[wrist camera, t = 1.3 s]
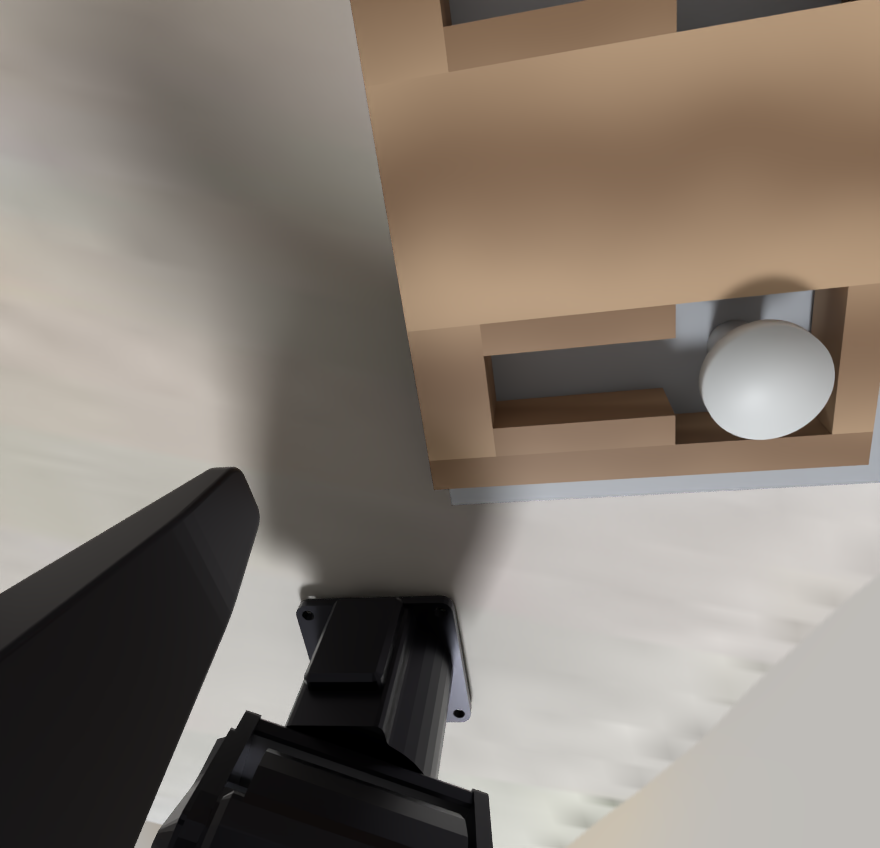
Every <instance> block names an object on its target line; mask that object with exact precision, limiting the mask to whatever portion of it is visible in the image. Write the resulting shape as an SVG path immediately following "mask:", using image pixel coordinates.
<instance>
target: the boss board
mask: <svg viewBox="0 0 880 848" xmlns="http://www.w3.org/2000/svg"><path fill="white" fill-rule="evenodd" d="M579 1H585V0H449V5H450V13H451V22H452V25H457V24H462V23H468V22H473V21H478V20H484V19H489V18H494V17H499V16H505V15H510V14H515V13H521V12H526V11H531V10H537V9H542V8H547V7H553V6H558V5H563V4H569V3H574V2H579ZM841 1H842V0H677V32H681V31H687V30H693V29H698V28H704V27H710V26H715V25H721V24H727V23H733V22H738V21H744V20H750V19H755V18H761V17H767V16H773V15H778V14H784V13H790V12H795V11H801V10H807V9H812V8H818V7H824V6H830V5H835V4H841ZM814 295H815V290H808V291H798V292H789V293H779V294H769V295H760V296H750V297H740V298H731V299H721V300H711V301H702V302H692V303H682V304H676V338H672V339H661V340H651V341H640V342H629V343H619V344H608V345H598V346H587V347H576V348H566V349H555V350H544V351H534V352H523V353H513V354H502V355H491V359H492V368H493V376H494V384H495V393H496V401H505V400H518V399H530V398H542V397H554V396H567V395H579V394H591V393H604V392H616V391H628V390H641V389H653V388H663V389H664V392H665V394H666V396H667V398H668V400H669V403H670V405H671V407H672V409H673V411H674V413H675V414H682V413H696V412H709V413H710V415H711V417H712V418H713V419H714V421H715V422H716V423H717V424H718V425H719V426H720V427H722V428H723V429H724V430H726V431H727V432H729V433H731V434H733V435H736V436H739V437H742V438H746V439H754V440H766V439H774V438H778V437H782V436H785V435H788V434H790V433H793V432H795V431H797V430H799V429H800V428H802V427H804V426H805V425H806V424H808V423H809V422H810V421H812V420H813V419H814V418H815V417H816V416H817V415H818V414H819V413H820V411H821V410H822V409H823V408H824V406H825V405H826V403H827V401H828V399H829V397H830V395H831V393H832V390H833V386H834V380H835V370H834V364H833V360H832V357H831V355H830V353H829V351H828V350H827V349H826V347H825V346H824V345H823V344H822V343H821V342H820V341H819V340H818V339H817V338H816V337H815V336H813V335H812V334H811V328H812V317H813V306H814ZM862 483H880V387H879V395H878V402H877V409H876V416H875V423H874V430H873V437H872V444H871V451H870V458H869V465H857V466H839V467H822V468H805V469H787V470H770V471H753V472H735V473H718V474H701V475H683V476H666V477H649V478H631V479H614V480H597V481H579V482H562V483H545V484H527V485H510V486H492V487H475V488H458V489H449V491H450V497H451V503H452V505H466V504H485V503H503V502H522V501H541V500H560V499H579V498H598V497H617V496H635V495H654V494H673V493H692V492H711V491H730V490H749V489H767V488H786V487H805V486H824V485H843V484H862Z"/></svg>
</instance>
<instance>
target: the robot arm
mask: <svg viewBox="0 0 880 848" xmlns="http://www.w3.org/2000/svg"><path fill="white" fill-rule="evenodd" d="M259 520H260V516H259V509H258V506H257V504H256V502H255V499H254V497H253V495H252V492H251V490H250V488H249V485H248V483H247V481H246V478H245V476H244V474H243V472H242V471H241V470H240V469H238V468H236V467H217V468H211V469H209V470H207V471H205V472H203V473H202V474H200V475H198V476H197V477H195V478H193V479H192V480H190V481H188V482H187V483H185V484H183V485H182V486H180V487H178V488H177V489H175V490H173V491H172V492H170V493H168V494H166V495H165V496H163V497H161V498H160V499H158V500H156V501H155V502H153V503H151V504H150V505H148V506H146V507H145V508H143V509H141V510H140V511H138V512H136V513H135V514H133V515H131V516H130V517H128V518H126V519H125V520H123V521H121V522H120V523H118V524H116V525H115V526H113V527H111V528H110V529H108V530H106V531H104V532H103V533H101V534H99V535H98V536H96V537H94V538H93V539H91V540H89V541H88V542H86V543H84V544H83V545H81V546H79V547H78V548H76V549H74V550H73V551H71V552H69V553H68V554H66V555H64V556H63V557H61V558H59V559H58V560H56V561H54V562H53V563H51V564H49V565H47V566H46V567H44V568H42V569H41V570H39V571H37V572H36V573H34V574H32V575H31V576H29V577H27V578H26V579H24V580H22V581H21V582H19V583H17V584H16V585H14V586H12V587H11V588H9V589H7V590H6V591H4V592H2V593H1V594H0V848H134V846H135V844H136V842H137V839H138V837H139V834H140V832H141V829H142V827H143V825H144V823H145V820H146V818H147V815H148V813H149V811H150V808H151V806H152V803H153V801H154V799H155V796H156V794H157V792H158V789H159V787H160V784H161V782H162V780H163V777H164V775H165V773H166V770H167V768H168V765H169V763H170V761H171V758H172V756H173V753H174V751H175V749H176V746H177V744H178V742H179V739H180V737H181V734H182V732H183V730H184V727H185V725H186V723H187V720H188V718H189V715H190V713H191V711H192V708H193V706H194V703H195V701H196V699H197V696H198V694H199V692H200V689H201V687H202V684H203V682H204V680H205V677H206V675H207V673H208V670H209V668H210V665H211V663H212V661H213V658H214V656H215V653H216V651H217V649H218V646H219V644H220V642H221V639H222V637H223V634H224V632H225V630H226V627H227V625H228V622H229V619H230V617H231V614H232V611H233V608H234V605H235V602H236V599H237V596H238V593H239V589H240V586H241V583H242V580H243V576H244V573H245V570H246V566H247V563H248V560H249V556H250V553H251V550H252V546H253V543H254V540H255V536H256V533H257V530H258V526H259ZM439 607H440V608H444V609H445V610H444V611H441V610H438V609H437V608H439ZM307 611H310V612H312V613H313V614H310V613H308V612H307ZM296 615H297V619H298V623H299V626H300V629H301V633H302V636H303V639H304V643H305V646H306V649H307V653H308V656H309V659H310V663H309V666H308V668H307V670H306V673H305V675H304V681H303V683H302V686H301V688H300V691H299V693H298V696H297V698H296V701H295V703H294V705H293V708H292V710H291V713H290V715H289V718H288V720H287V722H286V725H285V727H284V726H282V725H279V724H276V723H273V722H270V721H267V720H264V719H261V715H259V714H256V713H253V712H250V711H247V710H246V712H245V714H244V715H243V717H242V719H241V721H240V722H239V724H238V726H237V728H236V729H233V728H231V729H230V731H229V732H228V734H227V736H226V737H224V738H220V739H217V741H216V743H215V745H214V747H213V749H212V751H211V753H210V755H209V757H208V759H207V761H206V763H205V765H204V766H203V768H202V770H201V772H200V774H199V776H198V778H197V779H196V781H195V783H194V784H193V786H192V787H191V789H190V790H189V791H188V792H187V794H186V795H185V796H184V798H183V799H182V800H181V802H180V803H179V804H178V806H177V807H176V808H175V809H174V811H173V812H172V813H171V815H170V816H169V817H168V819H167V820H166V821H165V822H164V824H163V825H162V826H161V828H160V829H159V831H158V833H157V835H156V837H155V839H154V841H153V844H152V846H151V848H493V843H492V832H491V820H490V808H489V796H488V794H487V793H484V792H481V791H479V790H476V789H472V790H471V791H469V790H467V789H464V788H461V787H458V786H455V785H452V784H449V783H446V782H443V781H441V780H438V773H439V766H440V759H441V753H442V746H443V739H444V733H445V726H446V722H465V721H467V720H468V719H469V718H470V715H471V700H470V695H469V689H468V683H467V677H466V671H465V665H464V660H463V654H462V648H461V642H460V636H459V630H458V625H457V619H456V613H455V607H454V604H453V602H452V601H451V600H450V599H449V598H447V597H445V596H413V597H377V598H341V599H308V600H304V601H302V602H301V604H300V606H299V608H298V610H297V612H296ZM457 709H459V710H457Z"/></svg>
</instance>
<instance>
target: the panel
mask: <svg viewBox="0 0 880 848" xmlns="http://www.w3.org/2000/svg"><path fill="white" fill-rule="evenodd" d="M350 3H351V9H352V15H353V20H354V26H355V32H356V38H357V44H358V50H359V55H360V61H361V67H362V73H363V79H364V85H365V90H366V96H367V102H368V108H369V114H370V120H371V125H372V131H373V137H374V143H375V149H376V155H377V160H378V166H379V172H380V178H381V184H382V190H383V195H384V201H385V207H386V213H387V219H388V224H389V230H390V236H391V242H392V248H393V254H394V259H395V265H396V271H397V277H398V283H399V289H400V294H401V300H402V306H403V312H404V318H405V324H406V329H407V335H408V341H409V347H410V353H411V359H412V364H413V370H414V376H415V382H416V388H417V394H418V399H419V405H420V411H421V417H422V423H423V429H424V434H425V440H426V446H427V452H428V458H429V464H430V469H431V475H432V481H433V487H434V490H440V489H458V488H475V487H492V486H510V485H527V484H545V483H562V482H579V481H597V480H614V479H631V478H649V477H666V476H683V475H701V474H718V473H735V472H753V471H770V470H787V469H805V468H822V467H839V466H857V465H869V458H870V451H871V444H872V437H873V430H874V423H875V416H876V409H877V402H878V395H879V387H880V0H842V1H841V4H835V5H830V6H824V7H818V8H812V9H807V10H801V11H795V12H790V13H784V14H778V15H773V16H767V17H761V18H755V19H750V20H744V21H738V22H733V23H727V24H721V25H715V26H710V27H704V28H698V29H693V30H687V31H681V32H677V0H585V1H579V2H574V3H569V4H563V5H558V6H553V7H547V8H542V9H537V10H531V11H526V12H521V13H515V14H510V15H505V16H499V17H494V18H489V19H484V20H478V21H473V22H468V23H462V24H457V25H452V22H451V13H450V5H449V0H350ZM808 290H815V295H814V306H813V317H812V328H811V334H812V335H813V336H815V337H816V338H817V339H818V340H819V341H820V342H821V343H822V344H823V345H824V346H825V347H826V349H827V350H828V351H829V353H830V355H831V357H832V360H833V364H834V370H835V380H834V386H833V390H832V393H831V395H830V397H829V399H828V401H827V403H826V405H825V406H824V408H823V409H822V410H821V411H820V413H819V414H818V415H817V416H816V417H815V418H814V419H813V420H812V421H810V422H809V423H808V424H806V425H805V426H804V427H802V428H800V429H799V430H797V431H795V432H793V433H790V434H788V435H785V436H782V437H778V438H774V439H766V440H754V439H746V438H742V437H739V436H736V435H733V434H731V433H729V432H727V431H726V430H724V429H723V428H722V427H720V426H719V425H718V424H717V423H716V422H715V421H714V419H713V418H712V417H711V415H710V413H709V412H696V413H682V414H675V413H674V411H673V409H672V407H671V405H670V403H669V400H668V398H667V396H666V394H665V392H664V389H663V388H653V389H641V390H628V391H616V392H604V393H591V394H579V395H567V396H554V397H542V398H530V399H518V400H505V401H496V393H495V384H494V376H493V368H492V359H491V355H502V354H513V353H523V352H534V351H544V350H555V349H566V348H576V347H587V346H598V345H608V344H619V343H629V342H640V341H651V340H661V339H672V338H676V304H682V303H692V302H702V301H711V300H721V299H731V298H740V297H750V296H760V295H769V294H779V293H789V292H798V291H808Z"/></svg>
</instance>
